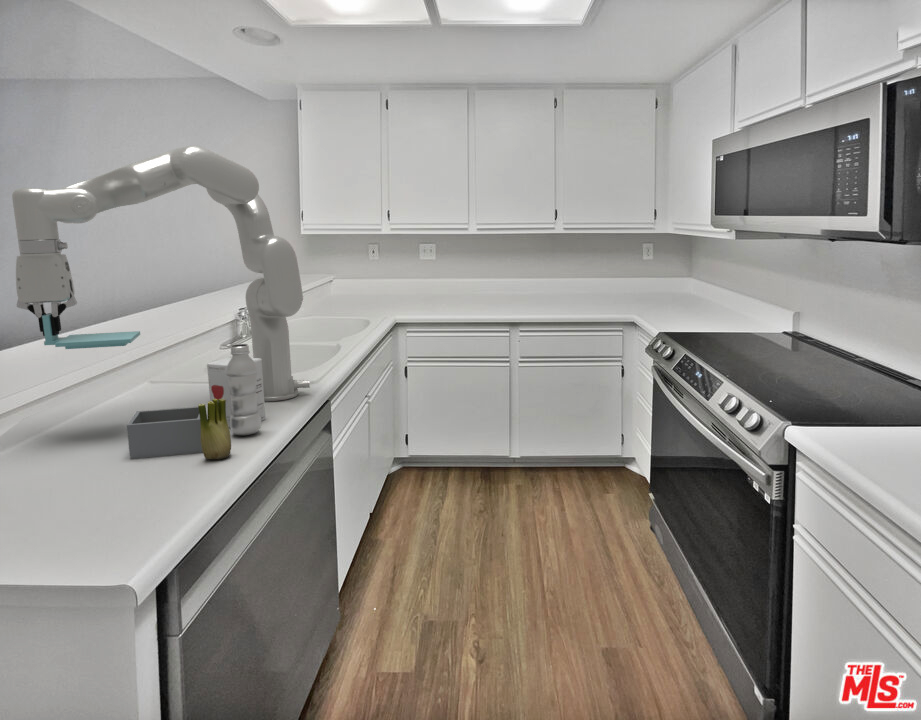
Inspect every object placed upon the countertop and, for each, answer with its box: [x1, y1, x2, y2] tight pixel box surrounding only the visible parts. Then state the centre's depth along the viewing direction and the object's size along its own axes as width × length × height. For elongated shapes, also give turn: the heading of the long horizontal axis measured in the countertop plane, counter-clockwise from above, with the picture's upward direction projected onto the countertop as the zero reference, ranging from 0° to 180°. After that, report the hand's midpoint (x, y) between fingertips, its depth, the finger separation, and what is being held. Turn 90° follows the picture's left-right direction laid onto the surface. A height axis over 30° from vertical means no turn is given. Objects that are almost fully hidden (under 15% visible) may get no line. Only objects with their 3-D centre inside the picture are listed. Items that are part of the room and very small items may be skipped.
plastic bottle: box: [226, 343, 262, 436], centre depth 158 cm, size 6×7×20 cm
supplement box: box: [206, 356, 266, 429], centre depth 168 cm, size 9×9×15 cm
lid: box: [42, 312, 141, 350], centre depth 157 cm, size 18×12×7 cm, turn 104°
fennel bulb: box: [197, 399, 232, 461], centre depth 143 cm, size 6×5×12 cm
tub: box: [126, 405, 207, 460], centre depth 151 cm, size 14×11×7 cm
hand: (51, 334), depth 156 cm, fingers closed on lid, 1 cm apart
